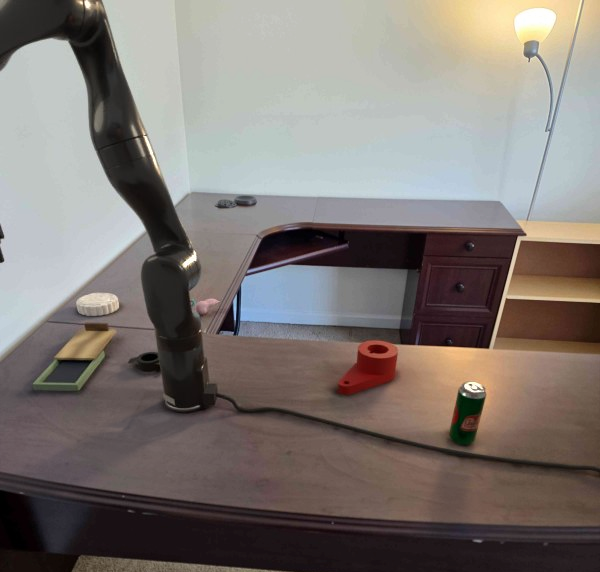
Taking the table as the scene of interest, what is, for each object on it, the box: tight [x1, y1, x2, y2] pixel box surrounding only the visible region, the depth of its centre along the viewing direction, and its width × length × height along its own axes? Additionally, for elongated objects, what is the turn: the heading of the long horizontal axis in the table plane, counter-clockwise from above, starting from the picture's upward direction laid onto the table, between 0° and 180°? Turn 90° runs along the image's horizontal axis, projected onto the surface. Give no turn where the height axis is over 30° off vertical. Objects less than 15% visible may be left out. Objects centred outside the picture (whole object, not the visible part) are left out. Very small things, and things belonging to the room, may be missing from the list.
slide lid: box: [53, 322, 117, 360], centre depth 126 cm, size 10×17×3 cm, turn 179°
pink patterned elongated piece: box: [190, 298, 221, 316], centre depth 148 cm, size 6×6×15 cm
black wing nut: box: [127, 351, 161, 373], centre depth 121 cm, size 8×10×3 cm
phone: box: [44, 360, 93, 383], centre depth 118 cm, size 7×15×1 cm, turn 179°
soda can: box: [448, 381, 487, 446], centre depth 95 cm, size 5×5×12 cm
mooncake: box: [75, 291, 120, 317], centre depth 152 cm, size 12×12×4 cm
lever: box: [337, 339, 399, 396], centre depth 116 cm, size 18×9×7 cm, turn 136°
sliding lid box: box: [32, 349, 106, 392], centre depth 118 cm, size 10×17×2 cm, turn 179°
